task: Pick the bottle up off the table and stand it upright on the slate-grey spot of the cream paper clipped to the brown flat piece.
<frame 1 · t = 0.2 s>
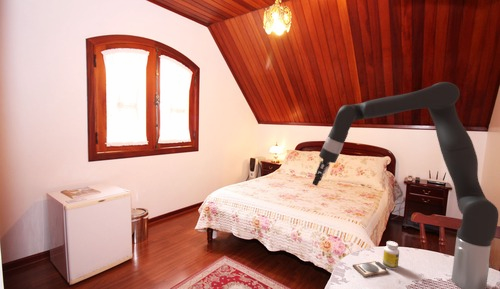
hand: (316, 182, 112), 31 cm above the table, tool tilted 20°, fingers open, 8 cm apart
supplement bottle: (390, 266, 103), on the table
brown flat piece: (370, 269, 100), on the table
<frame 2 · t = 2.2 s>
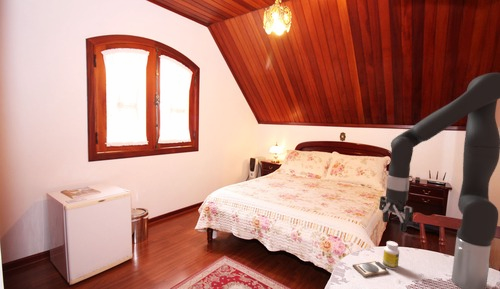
hand: (393, 226, 101), 17 cm above the table, tool pointing down, fingers open, 8 cm apart
nothing on the table moved.
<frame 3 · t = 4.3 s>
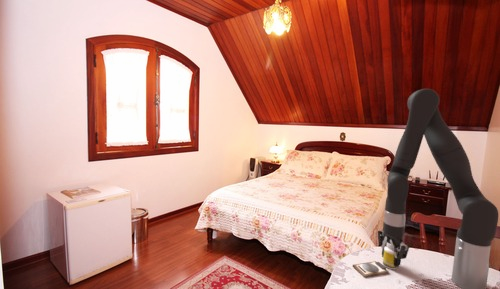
hand: (390, 261, 103), 2 cm above the table, tool pointing down, fingers closed on supplement bottle, 5 cm apart
supplement bottle: (390, 266, 103), on the table, touching gripper
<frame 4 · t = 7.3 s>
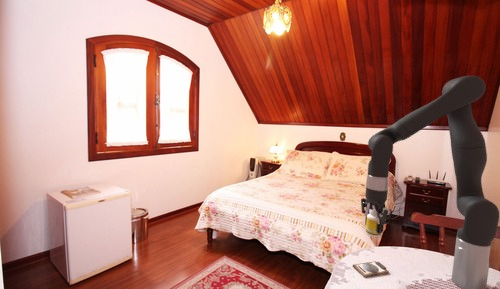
hand: (373, 228, 98), 17 cm above the table, tool pointing down, fingers closed on supplement bottle, 5 cm apart
supplement bottle: (373, 234, 98), point 15 cm above the table, touching gripper
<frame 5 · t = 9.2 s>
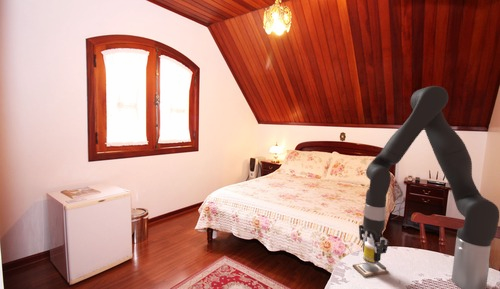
hand: (371, 256, 99), 6 cm above the table, tool pointing down, fingers closed on supplement bottle, 5 cm apart
supplement bottle: (370, 261, 99), point 4 cm above the table, touching gripper
when the fingers open (4 cm above the table, at t = 10.5 s): supplement bottle stays where it is, resting on brown flat piece.
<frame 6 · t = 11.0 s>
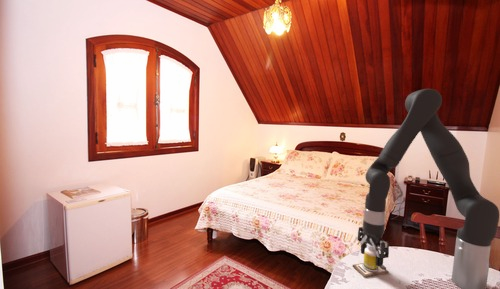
hand: (371, 259, 99), 5 cm above the table, tool pointing down, fingers open, 8 cm apart
supplement bottle: (370, 268, 100), point 1 cm above the table, touching brown flat piece
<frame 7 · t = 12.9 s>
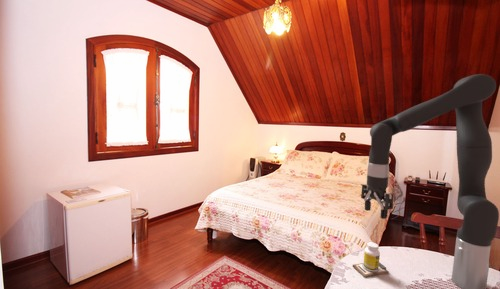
hand: (375, 214, 100), 22 cm above the table, tool pointing down, fingers open, 8 cm apart
nothing on the table moved.
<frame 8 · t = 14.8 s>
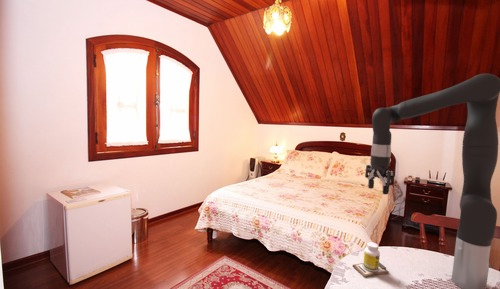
hand: (377, 191, 110), 28 cm above the table, tool pointing down, fingers open, 8 cm apart
nothing on the table moved.
at the end: supplement bottle 0.1 cm off-centre on the brown flat piece, point 0.8 cm above the brown flat piece's base; supplement bottle tilted 0°; the gripper is holding nothing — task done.
